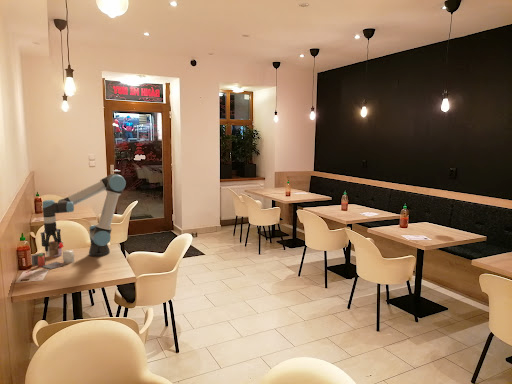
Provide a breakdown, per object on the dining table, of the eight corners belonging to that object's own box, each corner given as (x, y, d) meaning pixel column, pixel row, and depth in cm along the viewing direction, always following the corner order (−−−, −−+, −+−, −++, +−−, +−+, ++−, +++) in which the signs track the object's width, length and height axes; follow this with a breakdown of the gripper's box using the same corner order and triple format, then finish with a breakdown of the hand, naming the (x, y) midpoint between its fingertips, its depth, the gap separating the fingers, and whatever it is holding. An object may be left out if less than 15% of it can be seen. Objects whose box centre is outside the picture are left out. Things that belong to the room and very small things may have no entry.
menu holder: (43, 261, 283) (42, 252, 282) (45, 262, 281) (44, 253, 280) (32, 264, 276) (31, 255, 275) (34, 265, 275) (33, 256, 274)
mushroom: (67, 254, 299) (66, 239, 298) (53, 258, 290) (52, 243, 289) (59, 252, 305) (58, 238, 303) (45, 256, 296) (44, 241, 294)
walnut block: (53, 253, 275) (52, 241, 274) (58, 254, 273) (57, 242, 271) (46, 255, 271) (45, 242, 269) (51, 256, 268) (50, 243, 267)
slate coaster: (56, 262, 280) (56, 261, 280) (65, 264, 275) (65, 264, 275) (41, 266, 271) (41, 266, 271) (51, 269, 265) (50, 268, 265)
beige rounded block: (70, 259, 287) (69, 249, 285) (76, 261, 283) (75, 250, 282) (61, 262, 281) (60, 251, 279) (67, 263, 277) (66, 253, 276)
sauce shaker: (42, 264, 276) (41, 253, 275) (46, 265, 274) (45, 253, 273) (37, 266, 273) (36, 254, 272) (40, 267, 271) (39, 255, 270)
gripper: (59, 219, 278) (61, 250, 281) (33, 224, 262) (36, 257, 266) (65, 220, 275) (67, 251, 278) (40, 225, 259) (42, 258, 262)
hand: (52, 254), depth 272 cm, fingers closed on walnut block, 6 cm apart
